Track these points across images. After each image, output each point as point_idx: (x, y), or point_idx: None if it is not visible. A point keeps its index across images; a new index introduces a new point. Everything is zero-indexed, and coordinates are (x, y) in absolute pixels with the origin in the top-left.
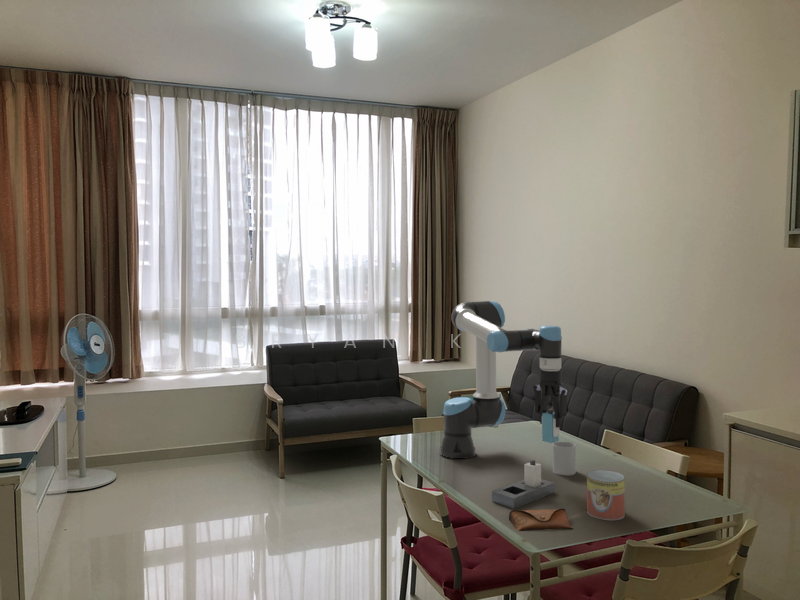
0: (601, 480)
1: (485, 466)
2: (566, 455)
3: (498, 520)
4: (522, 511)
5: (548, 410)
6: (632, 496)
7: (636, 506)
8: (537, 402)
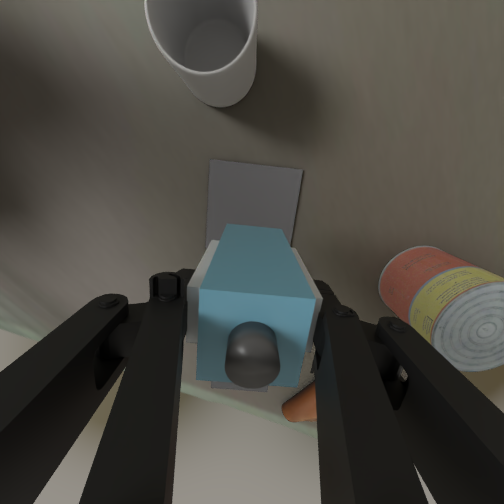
0: (480, 367)
1: (21, 186)
2: (240, 75)
3: (268, 412)
4: (308, 418)
5: (243, 383)
6: (454, 136)
7: (471, 201)
8: (61, 453)
